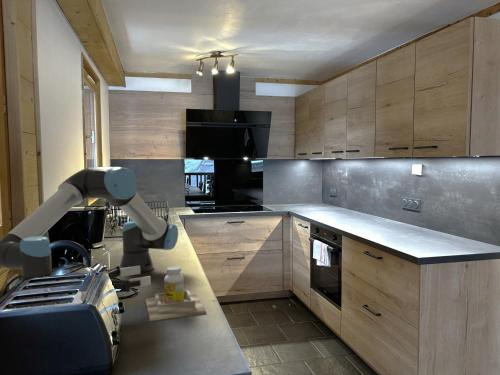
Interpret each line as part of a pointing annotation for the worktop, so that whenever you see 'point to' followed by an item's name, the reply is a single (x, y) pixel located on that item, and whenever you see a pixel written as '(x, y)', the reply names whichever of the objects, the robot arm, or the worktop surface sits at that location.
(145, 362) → the worktop surface
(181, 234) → the worktop surface
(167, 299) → the supplement bottle
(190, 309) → the holder board
